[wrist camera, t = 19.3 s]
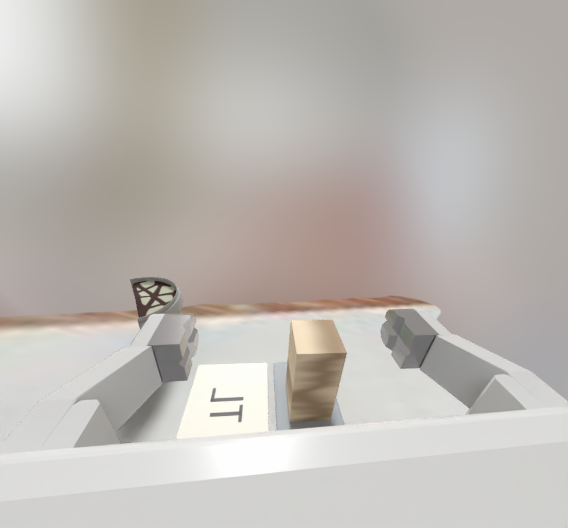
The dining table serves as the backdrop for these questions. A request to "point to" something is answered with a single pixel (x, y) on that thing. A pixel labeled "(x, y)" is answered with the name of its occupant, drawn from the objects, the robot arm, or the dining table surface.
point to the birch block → (313, 369)
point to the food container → (156, 297)
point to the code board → (239, 402)
